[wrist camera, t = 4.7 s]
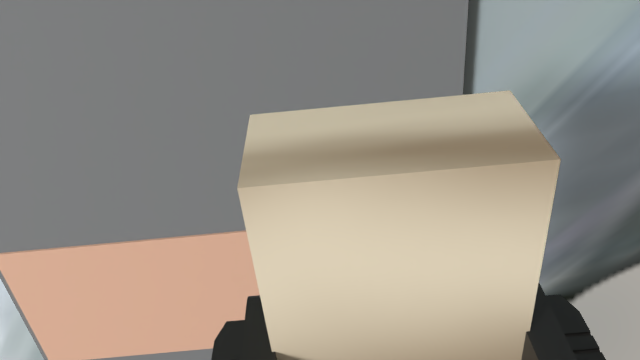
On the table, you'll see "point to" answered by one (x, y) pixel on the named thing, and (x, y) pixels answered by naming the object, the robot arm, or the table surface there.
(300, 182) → the tile
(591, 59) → the table surface
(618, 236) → the table surface
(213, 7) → the mat
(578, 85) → the table surface
